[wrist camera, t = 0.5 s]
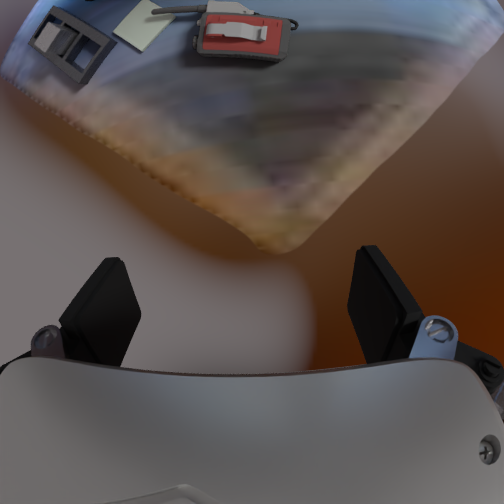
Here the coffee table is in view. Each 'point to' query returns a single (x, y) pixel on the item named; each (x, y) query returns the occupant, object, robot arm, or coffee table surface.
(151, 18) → the sage mat
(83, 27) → the grey flat frame
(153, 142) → the coffee table surface
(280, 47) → the walkie-talkie
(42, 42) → the steel block
